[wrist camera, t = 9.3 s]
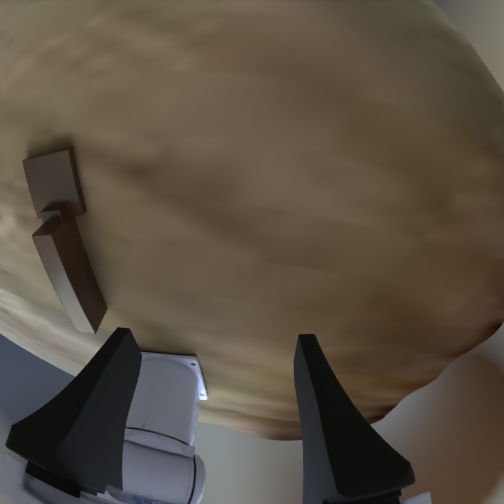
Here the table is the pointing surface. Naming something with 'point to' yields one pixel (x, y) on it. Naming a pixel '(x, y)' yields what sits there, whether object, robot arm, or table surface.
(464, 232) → the table surface
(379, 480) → the robot arm
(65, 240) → the spatula
